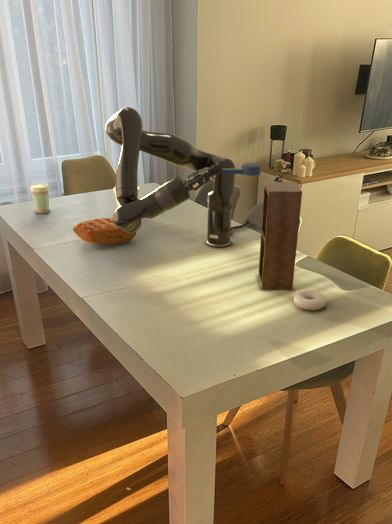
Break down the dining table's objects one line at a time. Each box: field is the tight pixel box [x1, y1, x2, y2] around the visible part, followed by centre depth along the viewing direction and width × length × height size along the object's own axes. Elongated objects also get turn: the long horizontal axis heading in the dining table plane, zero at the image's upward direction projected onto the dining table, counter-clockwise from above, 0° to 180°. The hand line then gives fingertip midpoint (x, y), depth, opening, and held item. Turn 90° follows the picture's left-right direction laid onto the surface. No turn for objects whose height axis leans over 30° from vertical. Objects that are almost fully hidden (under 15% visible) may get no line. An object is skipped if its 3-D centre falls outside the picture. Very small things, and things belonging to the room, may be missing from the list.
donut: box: [293, 290, 327, 311], centre depth 167 cm, size 10×4×10 cm
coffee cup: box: [29, 183, 50, 214], centre depth 251 cm, size 8×9×12 cm
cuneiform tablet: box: [72, 217, 138, 245], centre depth 216 cm, size 22×17×8 cm
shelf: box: [257, 181, 303, 291], centre depth 175 cm, size 10×12×32 cm
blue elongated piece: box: [204, 162, 262, 177], centre depth 164 cm, size 17×6×2 cm, turn 90°
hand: (220, 166), depth 164 cm, fingers closed on blue elongated piece, 2 cm apart
